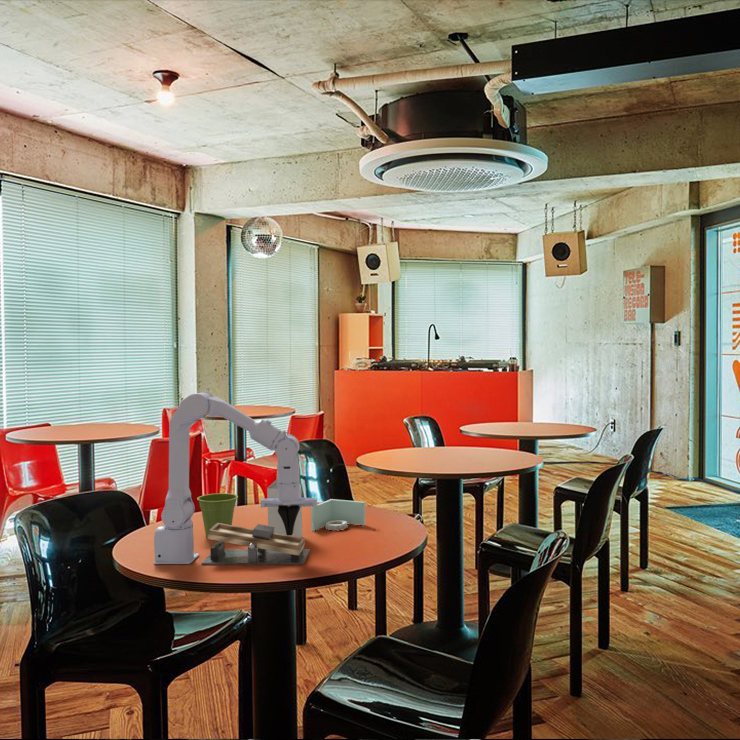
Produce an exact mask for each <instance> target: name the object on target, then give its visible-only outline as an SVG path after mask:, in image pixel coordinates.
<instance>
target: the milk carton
mask: <svg viewBox="0 0 740 740" xmlns="http://www.w3.org/2000/svg"><path fill="white" fill-rule="evenodd" d="M266 492H267V497H266V499H268V498H278V485H277V478H276V479H275V480H274V481H273V482H272V483H271V484H270V485H268V487H267V488H266ZM300 497H302V484H300ZM267 526H272V527H275V528H274V533H276V534H282V535H286V530H285V526H284V523H283V521H282V519H281V517H280V515H279V513H278V507H267ZM287 536H293V537H298V538H303V507H300V510H299V512H298V515H297V517H296V520H295V524H294V530H293V534H292V535H287Z"/></svg>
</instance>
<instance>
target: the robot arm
mask: <svg viewBox="0 0 740 740" xmlns="http://www.w3.org/2000/svg"><path fill="white" fill-rule="evenodd" d="M207 416H208V417H209V418H217V417H218V418H219V417H220V418H224V419H225V420H226V421H227V420H228V421H229V422H230V423H232V424H234V425H236V426H238V427H240V428H242V429H244V430H246V431H247V432H248V433H249V436H250V439H251V440H252V441H254V442H256V443H258V444H259V445H261V446H262V447H265V448H266V449H268V450H270V451H274V453H275V455H276V457H277V464H276V473H277V474H276V479H277V485H278V498H268V499H267V498H261V499H260V508H268V507H278V513H279V515H280V517H281V519H282V521H283V523H284V526H285V530H286V535H292V534H293V530H294V524H295V520H296V517H297V515H298V512H299V510H300V507H302V508H304V507H307V508H309V507H310V508H311V507H317V504H318V498H317V497H300V485H301V482H300V480H301V479H300V463H299V460H300V459H299V454H298V453H299V451H300V442H299V440H298V438H297V437H296V436H295V435H293V434H291V433H290V434H289V433H288V432H287V431H286V430H283V431H282V430H281V429H279V428H278V427H276V426H274V425H272V421H271V420H269V419H267V420H264V419H259V420H255V419H253V418H252V417H250V416H249V415H247V414H245V413H244V412H242V411H241V410H240V409H238V408H237V407H235V406H233V405H232V404H231V403H229V402H227V401H226V400H224V399H222V398H220V397H218V396H216V395H214V396H213V394H212V393H210V392H208V391H200V392H198V393H192V394H189V395H188V396H187V397H185V398H184V399H182V400H181V401H180V402H179V405H178V407H177V409H176V410H175V412H174V413H173V415H172V417H171V418H170V420H169V424H168V425H169V427H168V428H169V429H168V430H169V431H168V490H167V493H166V497H165V500H164V501H165V502H164V504H165V505H164V507H163V510H162V512H161V515H160V517H161V521H162V523H163V525H164V526H163V525H160V526H158V527H156V529H155V531H154V538H153V543H154V544H153V545H154V549H153V551H154V562H153V564H154V565H190V564H191V563H192V562H194V561H195V560H196V559H197V558H198V557H199V556H200V553H197V552H196V553H195V552H194V550H195V548H194V547H195V546H194V544H195V543H194V522H193V520H192V517H193V515H194V513H195V509H196V508H195V504H194V502H193V499H192V492H191V489H190V429H191V427H192V426H193V425H195V424H197V422H198V421H199V420H201V419H202V418H205V417H207Z"/></svg>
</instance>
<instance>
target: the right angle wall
mask: <svg viewBox="0 0 740 740" xmlns="http://www.w3.org/2000/svg"><path fill="white" fill-rule="evenodd" d="M310 517H311V518H310V521H311V523H310V524H311V532H316V531H318V530H320V529H319V528H321V527H323V526H325V527H323V528H324V529H325V528H326V529H325V530H327V529H329V530H341V529H345V528H347V529H348V527H349V525H347V523H349V524H360V525H365V524H366V501H357V500H356V501H355V500H347V499H346V500H345V499H337V498H336V499H335V498H334V499H333V498H330V499H328V500H326V501H323V502H320V503H317V507H312V506H311V507H310ZM366 525H367V524H366ZM317 529H318V530H317ZM321 529H322V528H321ZM315 530H316V531H315ZM329 530H328V531H329Z"/></svg>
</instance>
